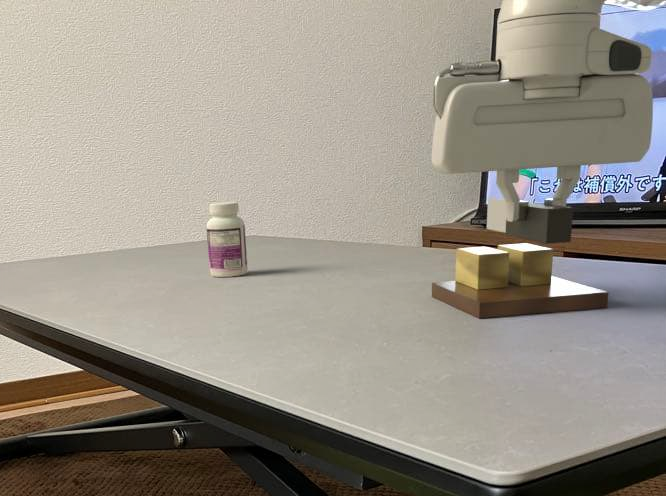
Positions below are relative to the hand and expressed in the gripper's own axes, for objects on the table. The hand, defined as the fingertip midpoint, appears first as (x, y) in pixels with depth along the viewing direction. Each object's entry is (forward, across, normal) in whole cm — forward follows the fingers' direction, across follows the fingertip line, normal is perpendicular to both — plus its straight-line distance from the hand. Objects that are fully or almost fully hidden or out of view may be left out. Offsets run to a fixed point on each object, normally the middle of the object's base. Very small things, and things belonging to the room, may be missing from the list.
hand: (535, 219), depth 87 cm
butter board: (+8, 0, +4) cm, 10 cm away
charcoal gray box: (+2, 0, +4) cm, 5 cm away
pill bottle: (+9, -26, +44) cm, 52 cm away
